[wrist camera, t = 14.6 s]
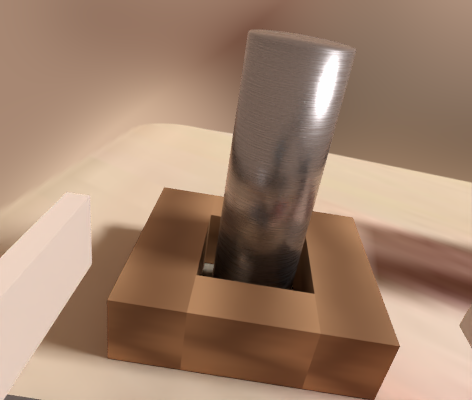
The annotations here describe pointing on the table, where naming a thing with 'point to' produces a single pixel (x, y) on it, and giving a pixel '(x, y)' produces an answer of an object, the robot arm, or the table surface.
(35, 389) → the table surface
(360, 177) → the table surface
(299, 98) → the pin
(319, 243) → the socket block
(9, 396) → the mat
